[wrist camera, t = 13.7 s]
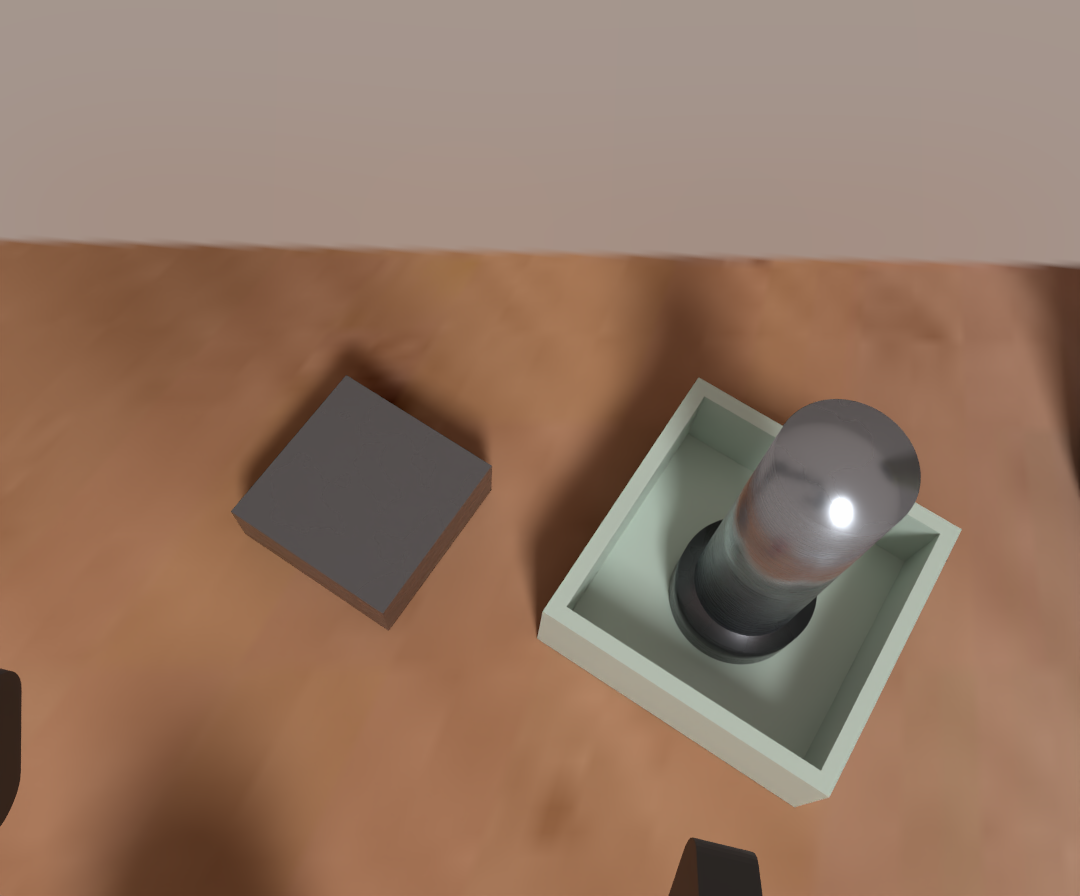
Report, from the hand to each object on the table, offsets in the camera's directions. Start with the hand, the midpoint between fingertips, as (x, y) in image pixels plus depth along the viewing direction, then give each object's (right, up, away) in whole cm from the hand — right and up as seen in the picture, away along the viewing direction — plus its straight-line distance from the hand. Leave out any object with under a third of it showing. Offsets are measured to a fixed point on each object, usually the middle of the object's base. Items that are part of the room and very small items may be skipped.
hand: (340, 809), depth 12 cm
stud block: (-5, +2, +29) cm, 29 cm away
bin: (+10, -2, +28) cm, 30 cm away
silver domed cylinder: (+10, -2, +27) cm, 29 cm away
